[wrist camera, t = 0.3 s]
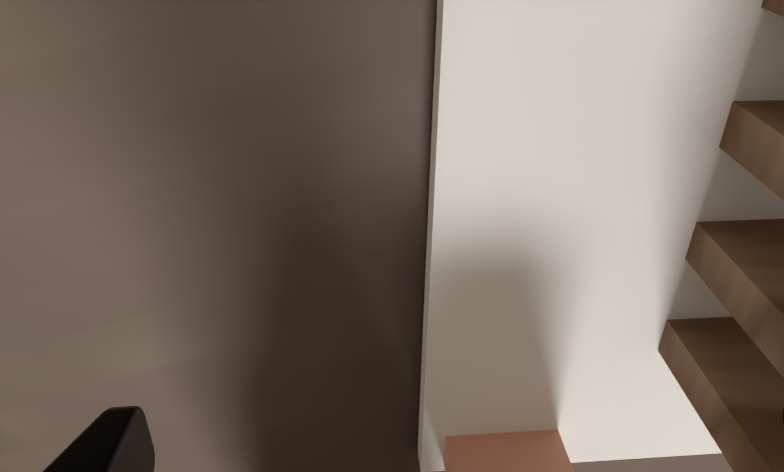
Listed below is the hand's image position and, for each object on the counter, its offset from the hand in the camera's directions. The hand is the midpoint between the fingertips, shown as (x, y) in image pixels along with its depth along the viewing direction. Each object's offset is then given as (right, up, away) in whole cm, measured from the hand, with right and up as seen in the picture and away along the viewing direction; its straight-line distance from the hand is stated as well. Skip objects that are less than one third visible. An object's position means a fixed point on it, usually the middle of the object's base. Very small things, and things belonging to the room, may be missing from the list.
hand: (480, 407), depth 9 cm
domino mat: (+9, +2, +16) cm, 19 cm away
